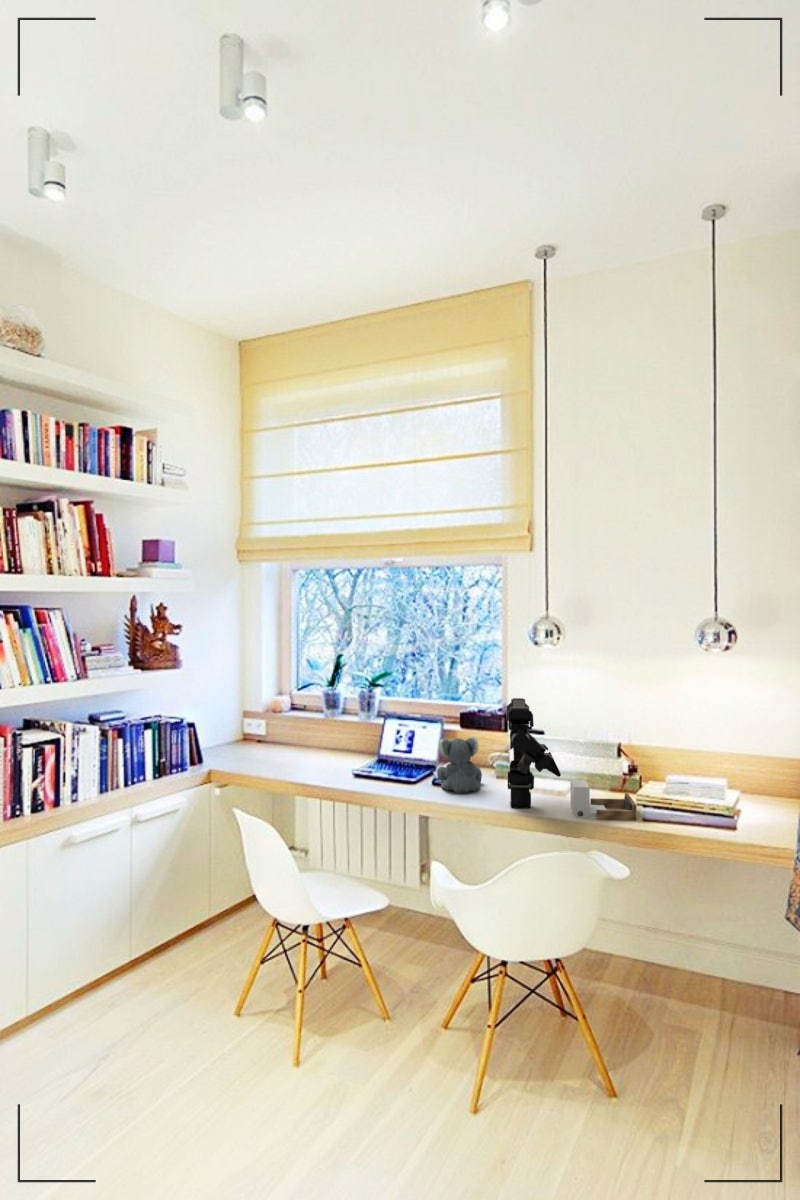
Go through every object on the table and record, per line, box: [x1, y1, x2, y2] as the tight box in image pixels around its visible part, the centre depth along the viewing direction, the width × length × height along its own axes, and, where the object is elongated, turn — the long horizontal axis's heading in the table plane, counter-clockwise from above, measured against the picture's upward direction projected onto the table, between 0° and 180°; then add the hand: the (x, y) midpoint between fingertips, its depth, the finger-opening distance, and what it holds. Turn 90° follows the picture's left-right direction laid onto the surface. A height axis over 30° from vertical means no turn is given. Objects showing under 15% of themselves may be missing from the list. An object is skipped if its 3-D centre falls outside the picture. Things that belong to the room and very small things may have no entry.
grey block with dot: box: [569, 779, 607, 819], centre depth 253 cm, size 11×10×10 cm
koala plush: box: [436, 736, 483, 794], centre depth 287 cm, size 17×18×20 cm
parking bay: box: [590, 792, 637, 821], centre depth 253 cm, size 12×14×5 cm
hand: (559, 775), depth 254 cm, fingers closed
